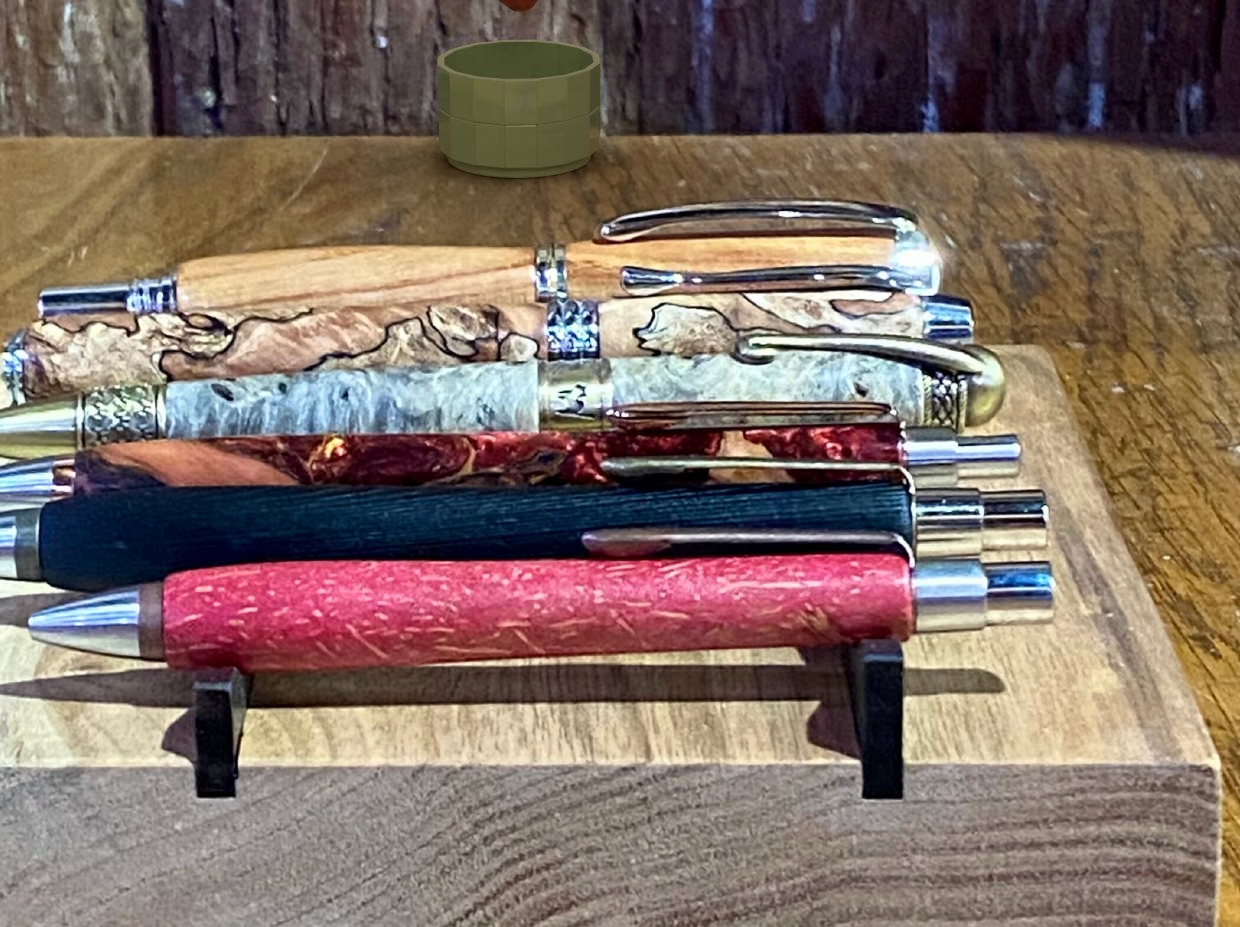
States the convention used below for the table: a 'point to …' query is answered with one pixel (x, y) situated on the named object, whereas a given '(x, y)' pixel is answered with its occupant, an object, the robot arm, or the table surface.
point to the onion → (519, 4)
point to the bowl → (519, 107)
